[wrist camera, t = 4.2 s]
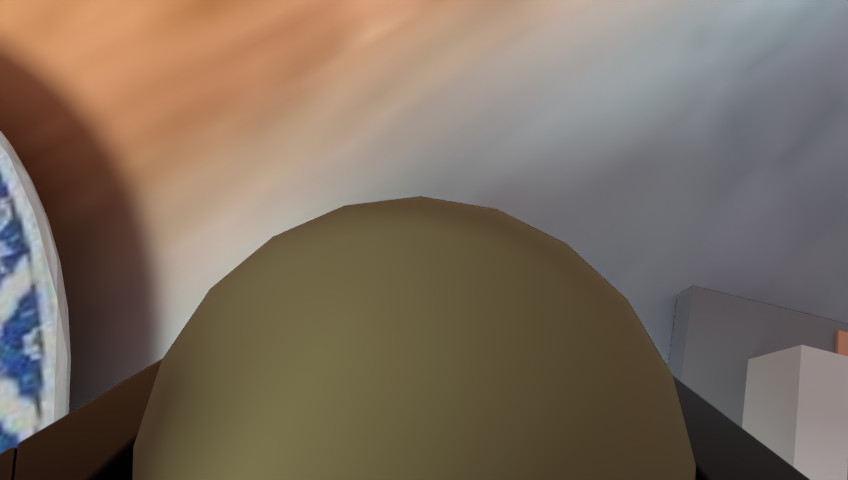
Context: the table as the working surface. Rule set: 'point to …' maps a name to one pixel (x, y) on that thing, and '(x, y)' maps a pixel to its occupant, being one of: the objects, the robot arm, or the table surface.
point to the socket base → (768, 374)
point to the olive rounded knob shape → (413, 361)
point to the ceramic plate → (29, 310)
